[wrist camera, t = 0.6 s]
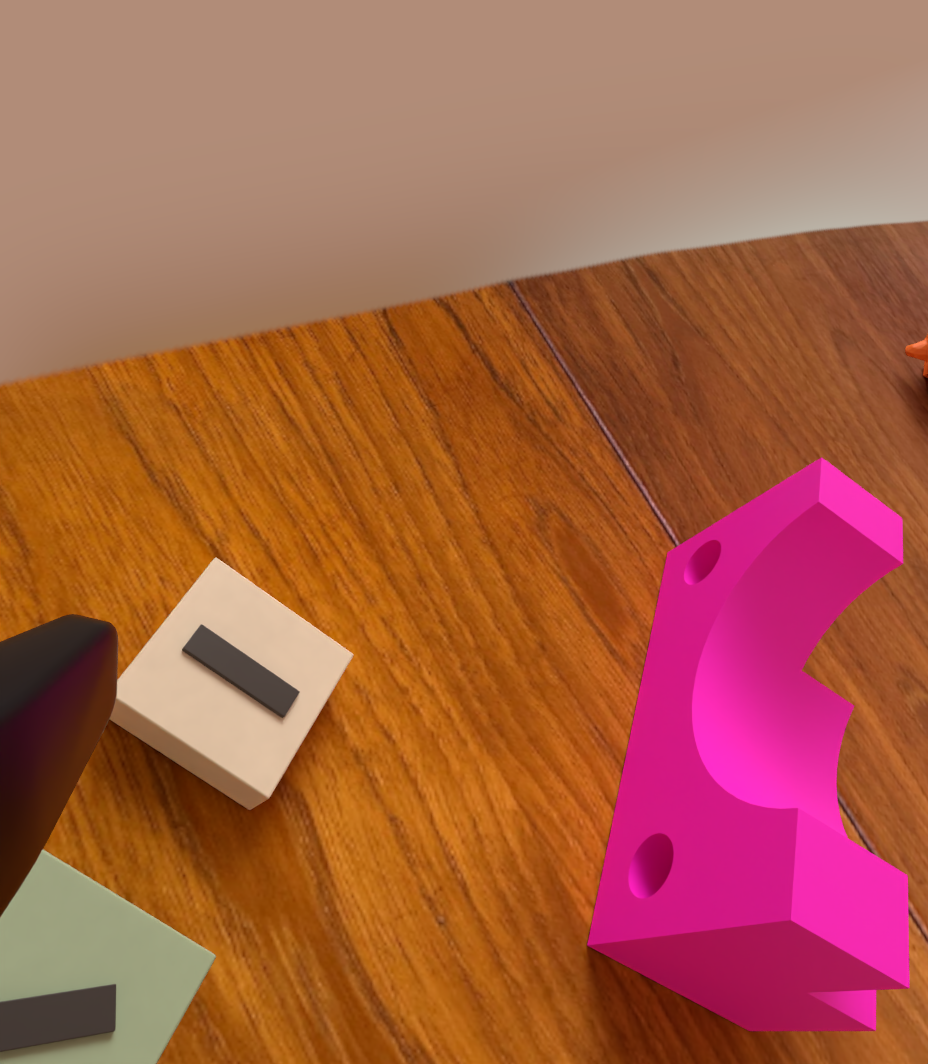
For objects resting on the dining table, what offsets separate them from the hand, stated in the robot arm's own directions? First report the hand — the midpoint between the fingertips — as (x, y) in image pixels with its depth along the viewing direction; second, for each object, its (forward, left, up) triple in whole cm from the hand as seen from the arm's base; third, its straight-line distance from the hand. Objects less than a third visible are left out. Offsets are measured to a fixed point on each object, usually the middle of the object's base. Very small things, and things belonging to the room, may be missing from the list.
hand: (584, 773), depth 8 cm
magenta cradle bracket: (+13, -13, -16) cm, 24 cm away
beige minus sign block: (+5, +2, -16) cm, 17 cm away
